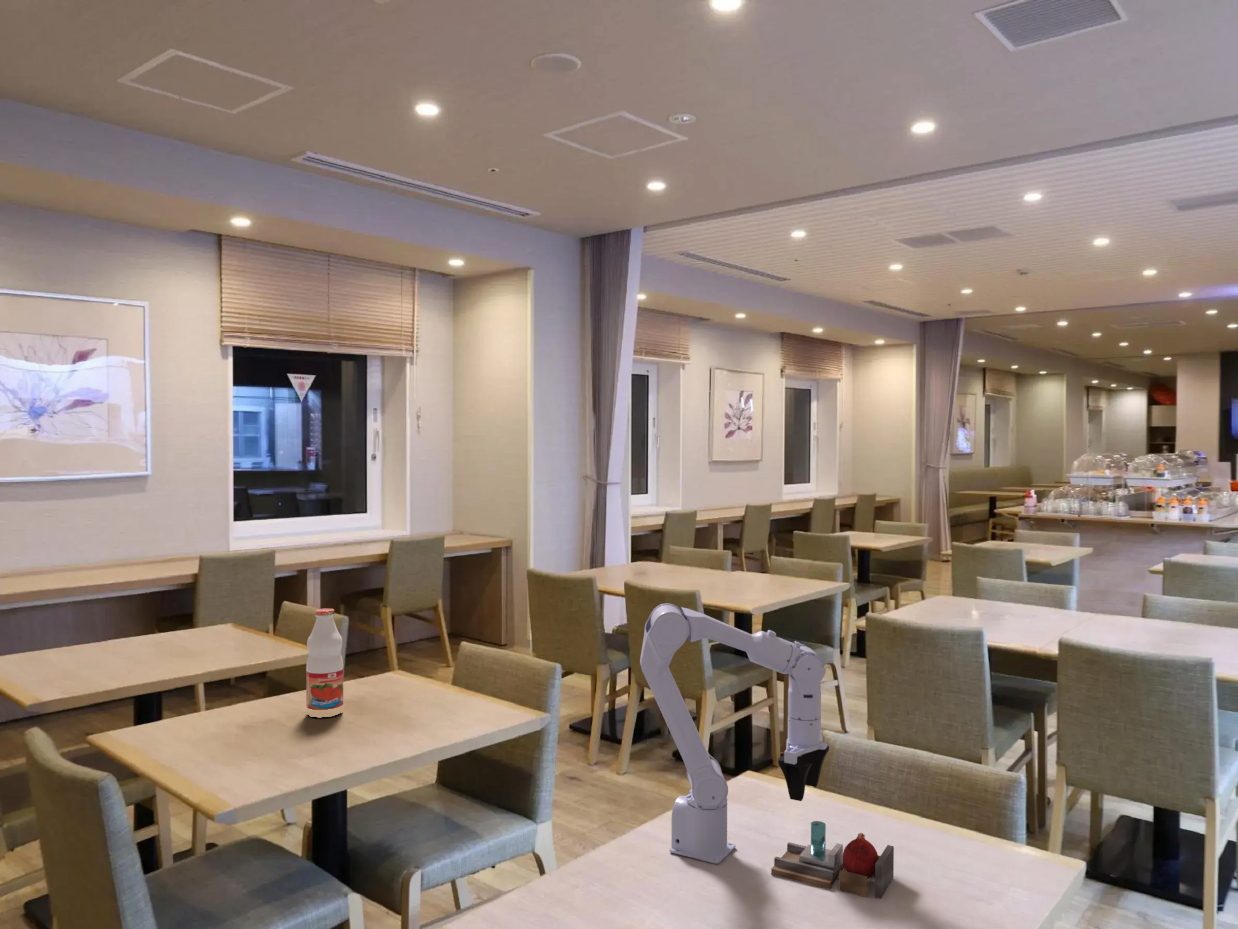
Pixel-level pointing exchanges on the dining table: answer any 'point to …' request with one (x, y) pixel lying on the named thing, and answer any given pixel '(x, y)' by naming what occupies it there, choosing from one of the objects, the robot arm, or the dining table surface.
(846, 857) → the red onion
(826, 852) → the ram
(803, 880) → the frame
